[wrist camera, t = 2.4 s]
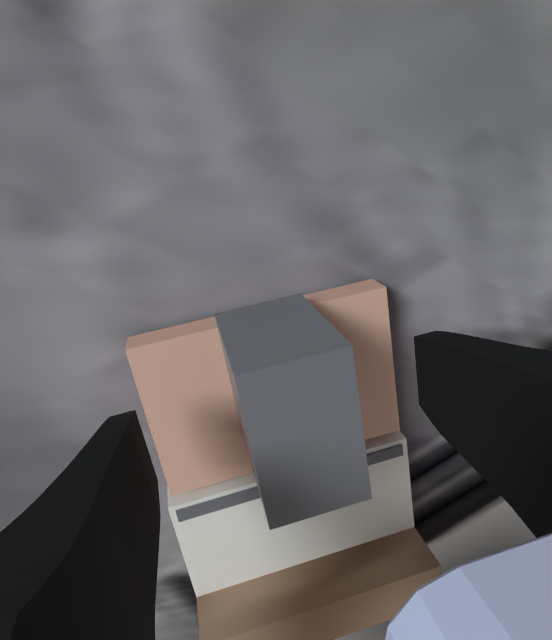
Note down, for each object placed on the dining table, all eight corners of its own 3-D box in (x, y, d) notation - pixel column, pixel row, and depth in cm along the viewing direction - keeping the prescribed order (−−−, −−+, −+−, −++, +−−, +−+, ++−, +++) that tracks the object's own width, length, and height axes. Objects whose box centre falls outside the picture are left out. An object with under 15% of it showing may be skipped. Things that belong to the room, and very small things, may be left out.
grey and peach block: (371, 266, 15) (464, 316, 10) (386, 414, 17) (471, 513, 12) (123, 324, 14) (103, 409, 9) (170, 476, 16) (173, 610, 11)
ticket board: (390, 419, 17) (434, 471, 14) (402, 537, 19) (443, 602, 16) (167, 483, 16) (168, 552, 13) (204, 601, 18) (212, 683, 15)
